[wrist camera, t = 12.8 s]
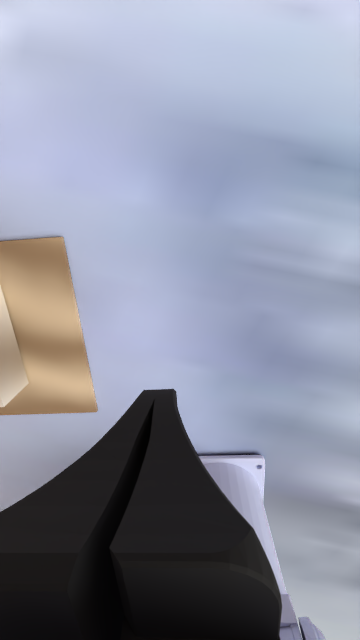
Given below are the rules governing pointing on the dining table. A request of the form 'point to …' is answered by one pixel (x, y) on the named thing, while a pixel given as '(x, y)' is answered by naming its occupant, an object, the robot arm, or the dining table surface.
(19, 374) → the slab
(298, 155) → the dining table surface
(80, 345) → the mat
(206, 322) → the dining table surface
